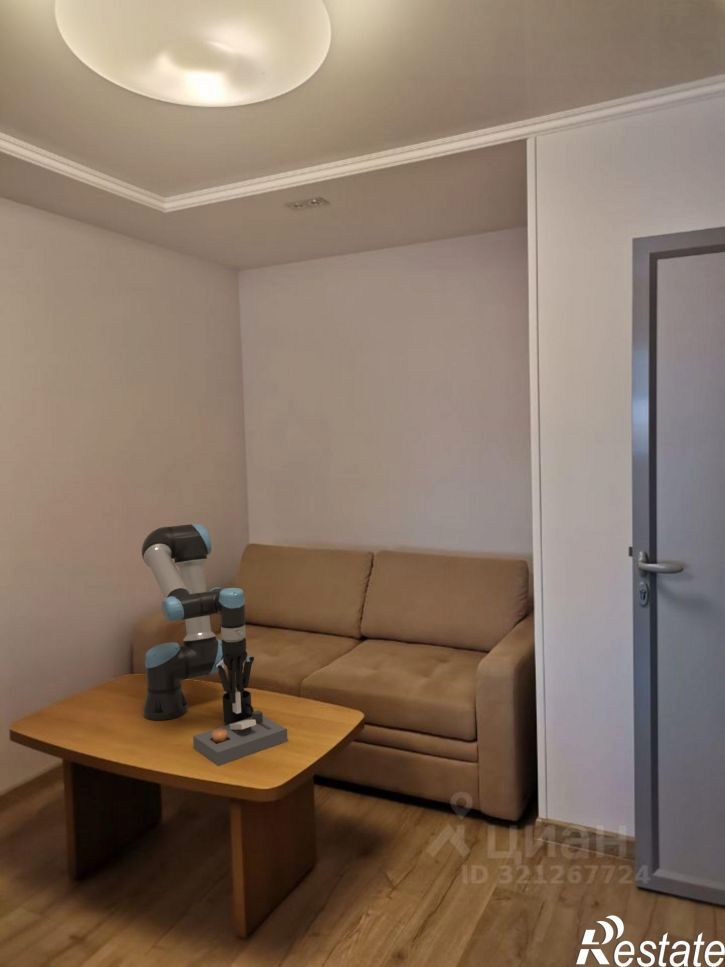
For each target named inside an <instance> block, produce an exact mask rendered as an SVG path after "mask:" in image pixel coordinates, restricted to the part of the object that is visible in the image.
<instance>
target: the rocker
mask: <svg viewBox="0 0 725 967" xmlns="http://www.w3.org/2000/svg"><path fill="white" fill-rule="evenodd" d="M229 725H230V730H236V729H245V728H248V727H251V726H254V725H256V720H241V721H238V722H235V723H231V724H229Z"/></svg>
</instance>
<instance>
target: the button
mask: <svg viewBox="0 0 725 967" xmlns="http://www.w3.org/2000/svg"><path fill="white" fill-rule="evenodd" d="M212 738H213V742H215V743H216V744H218V743H221V742H224V741H226V740H227V730H225V729H218V730H215V731H213V732H212Z"/></svg>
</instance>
